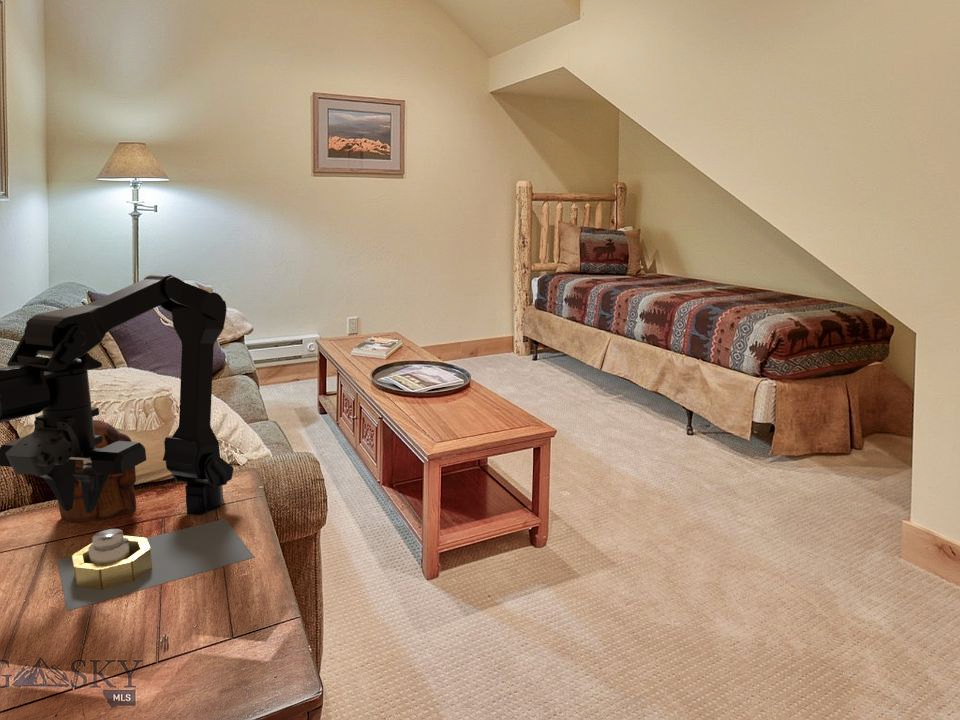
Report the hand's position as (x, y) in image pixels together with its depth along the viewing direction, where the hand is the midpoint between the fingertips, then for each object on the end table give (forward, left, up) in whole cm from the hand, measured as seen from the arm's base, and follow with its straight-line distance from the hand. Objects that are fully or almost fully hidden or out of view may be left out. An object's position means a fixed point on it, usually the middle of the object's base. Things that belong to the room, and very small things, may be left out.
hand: (79, 511), depth 91 cm
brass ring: (0, +4, -9) cm, 10 cm away
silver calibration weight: (0, +4, -9) cm, 10 cm away
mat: (-4, +8, -10) cm, 14 cm away
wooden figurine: (-17, -11, -10) cm, 23 cm away
